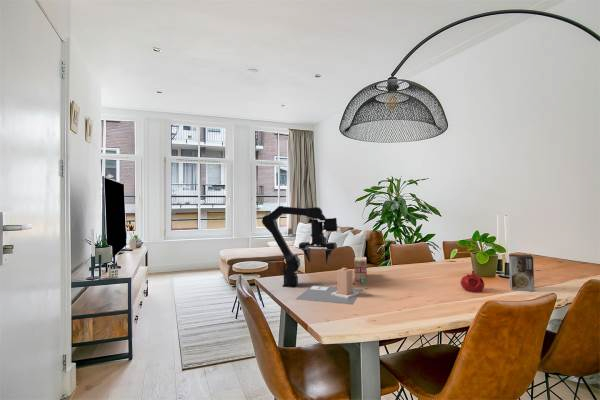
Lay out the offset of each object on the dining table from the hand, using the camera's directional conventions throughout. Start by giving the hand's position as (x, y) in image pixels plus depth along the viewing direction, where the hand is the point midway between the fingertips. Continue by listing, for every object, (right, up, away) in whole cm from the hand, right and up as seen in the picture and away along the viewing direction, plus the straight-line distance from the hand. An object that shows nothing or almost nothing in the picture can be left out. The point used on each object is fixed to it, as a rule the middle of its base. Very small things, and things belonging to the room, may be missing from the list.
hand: (318, 262), depth 169 cm
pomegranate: (+72, -11, -12) cm, 74 cm away
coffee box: (+96, -11, -11) cm, 97 cm away
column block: (+11, -11, -19) cm, 25 cm away
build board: (+5, -12, -18) cm, 22 cm away
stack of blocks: (+24, -12, +13) cm, 30 cm away
